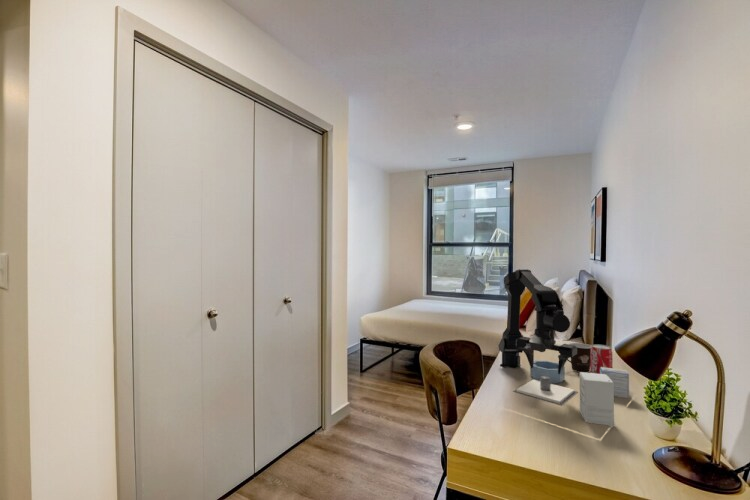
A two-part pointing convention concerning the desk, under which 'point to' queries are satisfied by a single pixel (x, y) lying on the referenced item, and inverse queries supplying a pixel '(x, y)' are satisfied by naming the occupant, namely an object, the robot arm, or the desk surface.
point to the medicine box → (618, 380)
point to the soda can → (600, 358)
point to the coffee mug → (581, 357)
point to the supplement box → (597, 398)
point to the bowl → (547, 371)
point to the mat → (551, 401)
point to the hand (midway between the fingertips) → (545, 370)
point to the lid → (546, 390)
